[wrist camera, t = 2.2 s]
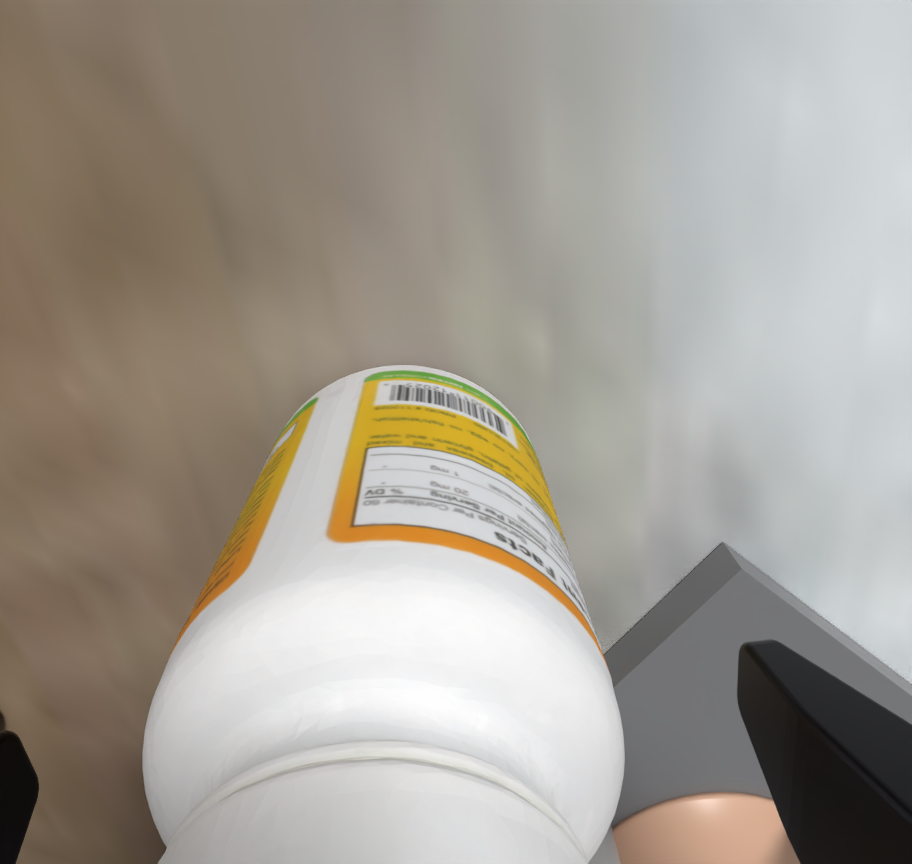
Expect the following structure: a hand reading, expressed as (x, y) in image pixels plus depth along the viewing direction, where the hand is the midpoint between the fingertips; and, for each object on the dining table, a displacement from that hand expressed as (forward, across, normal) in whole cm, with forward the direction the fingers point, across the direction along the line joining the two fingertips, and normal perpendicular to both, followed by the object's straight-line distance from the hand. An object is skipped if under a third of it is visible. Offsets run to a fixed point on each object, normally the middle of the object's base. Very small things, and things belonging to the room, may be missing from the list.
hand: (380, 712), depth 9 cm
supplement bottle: (+6, 0, 0) cm, 6 cm away
